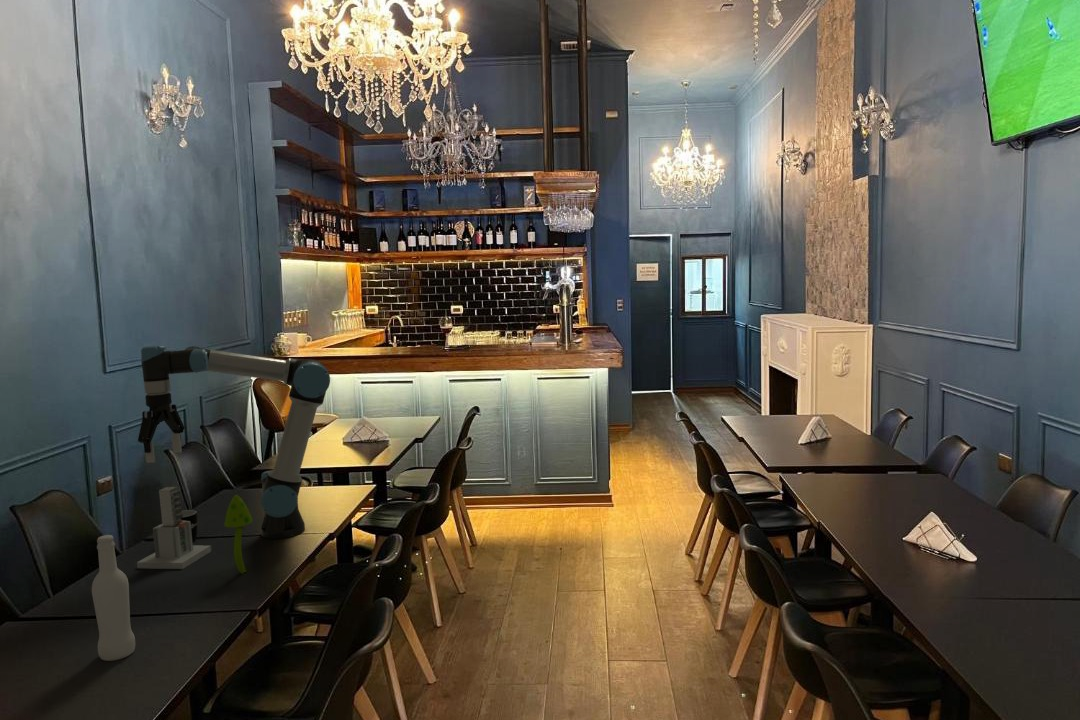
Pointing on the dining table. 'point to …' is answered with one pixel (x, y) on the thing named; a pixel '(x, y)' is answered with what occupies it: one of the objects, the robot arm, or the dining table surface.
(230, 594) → the dining table surface
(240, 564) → the mushroom
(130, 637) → the bottle
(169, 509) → the column
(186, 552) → the stand base
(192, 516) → the mug
